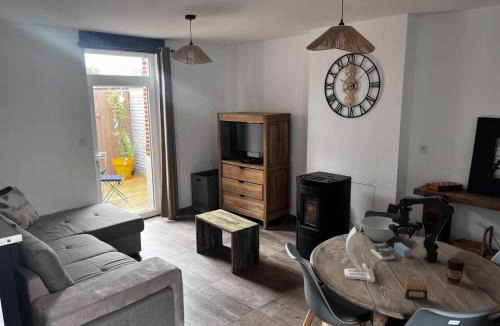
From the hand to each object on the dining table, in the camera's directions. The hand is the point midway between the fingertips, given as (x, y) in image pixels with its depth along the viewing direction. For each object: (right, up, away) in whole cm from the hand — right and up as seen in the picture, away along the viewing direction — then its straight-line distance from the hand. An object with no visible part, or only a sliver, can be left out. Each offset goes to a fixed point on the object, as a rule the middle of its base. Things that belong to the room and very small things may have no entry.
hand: (403, 239), depth 236 cm
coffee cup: (+14, -17, -35) cm, 41 cm away
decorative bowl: (-6, -5, +26) cm, 27 cm away
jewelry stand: (-36, -15, -20) cm, 44 cm away
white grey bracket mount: (-14, -10, 0) cm, 17 cm away
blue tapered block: (0, -10, +2) cm, 10 cm away
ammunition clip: (-14, -20, -49) cm, 55 cm away
